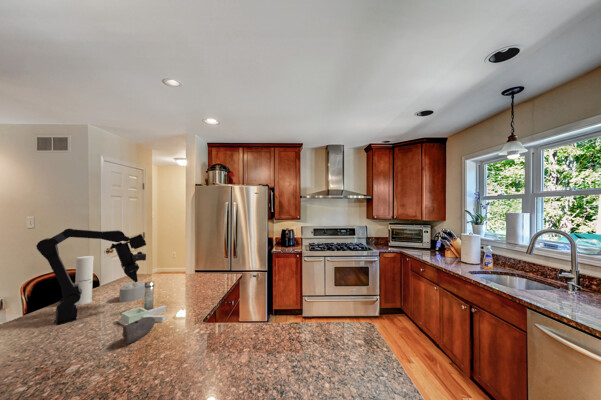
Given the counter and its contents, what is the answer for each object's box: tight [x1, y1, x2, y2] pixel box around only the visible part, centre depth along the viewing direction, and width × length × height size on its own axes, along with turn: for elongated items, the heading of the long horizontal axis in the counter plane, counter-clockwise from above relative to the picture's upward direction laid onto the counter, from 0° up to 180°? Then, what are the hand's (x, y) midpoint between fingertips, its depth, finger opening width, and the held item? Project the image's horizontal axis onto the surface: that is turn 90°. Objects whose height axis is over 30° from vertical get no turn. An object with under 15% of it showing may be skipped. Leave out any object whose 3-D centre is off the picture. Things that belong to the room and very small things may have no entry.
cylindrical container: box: [74, 255, 95, 306], centre depth 134 cm, size 7×7×25 cm
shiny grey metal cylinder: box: [143, 280, 155, 310], centre depth 123 cm, size 4×4×14 cm
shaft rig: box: [117, 305, 168, 327], centre depth 113 cm, size 19×18×4 cm
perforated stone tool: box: [122, 317, 156, 345], centre depth 96 cm, size 15×5×7 cm, turn 167°
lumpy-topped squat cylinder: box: [118, 281, 146, 303], centre depth 140 cm, size 10×13×9 cm
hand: (135, 280), depth 128 cm, fingers open, 9 cm apart
